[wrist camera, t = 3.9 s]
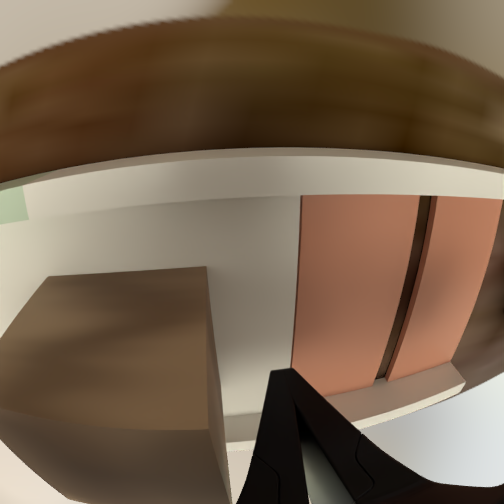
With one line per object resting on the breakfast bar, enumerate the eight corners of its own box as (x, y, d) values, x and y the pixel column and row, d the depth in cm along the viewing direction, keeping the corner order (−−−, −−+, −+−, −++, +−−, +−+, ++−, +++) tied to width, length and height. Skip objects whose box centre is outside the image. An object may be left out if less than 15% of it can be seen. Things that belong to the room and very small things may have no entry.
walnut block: (206, 266, 10) (208, 428, 4) (221, 387, 12) (233, 513, 7) (47, 276, 9) (-36, 396, 4) (95, 388, 12) (68, 498, 6)
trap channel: (501, 168, 10) (536, 180, 8) (441, 368, 16) (459, 392, 14) (-86, 212, 7) (-113, 229, 5) (-4, 396, 13) (-15, 421, 11)
